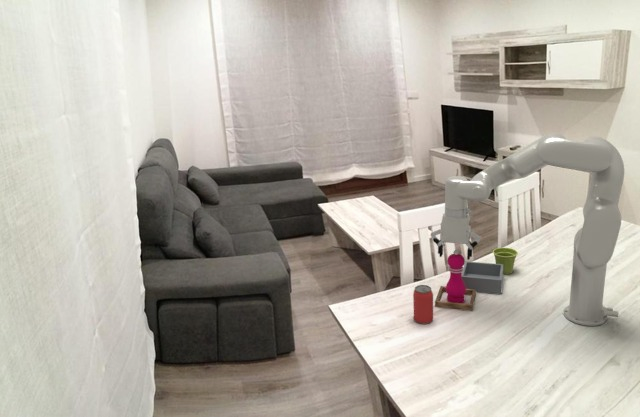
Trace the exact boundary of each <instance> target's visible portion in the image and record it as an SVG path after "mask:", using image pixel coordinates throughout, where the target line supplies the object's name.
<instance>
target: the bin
mask: <svg viewBox="0 0 640 417" xmlns="http://www.w3.org/2000/svg"><path fill="white" fill-rule="evenodd" d="M462 267H463V272H462V280H463V282H464V284H465V287H466V289H475V290H476V293H484V294H485V293H486V294H493V295H502V290H503V281H504V280H503V279H504V274H503V264H496V263H493V262H491V263H490V262H479V261H469V260H465V263H464V265H463V266H462Z"/></svg>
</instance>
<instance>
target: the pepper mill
mask: <svg viewBox="0 0 640 417" xmlns="http://www.w3.org/2000/svg"><path fill="white" fill-rule="evenodd" d="M465 261H466V260H465V257H464V256H463V255H462V254H460V253H459V251H458V250H453V253H451V254H449V256H448V257H447V262H446V263H447V265H448V271H449V273H450V274H449V275H450V276H449V279H448V282H447V283H446V292H445V293H446V294H447V295H446V302H453V303H462V304H464V302H465V298H466V297H465V293H466V287H465V284H464V282H463V280H462V272H463V267H464V264H465Z"/></svg>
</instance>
